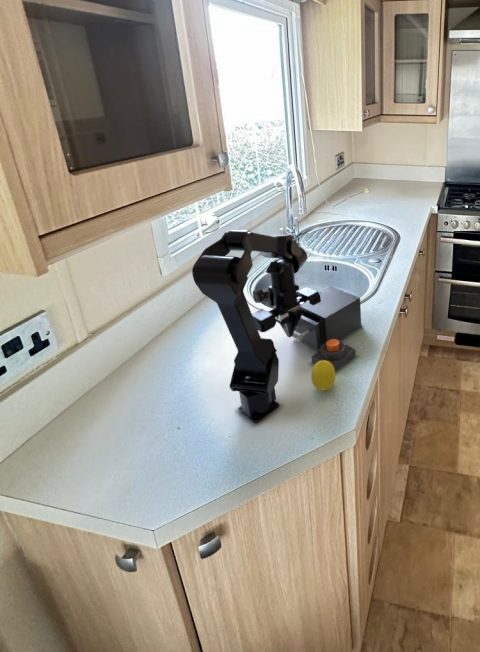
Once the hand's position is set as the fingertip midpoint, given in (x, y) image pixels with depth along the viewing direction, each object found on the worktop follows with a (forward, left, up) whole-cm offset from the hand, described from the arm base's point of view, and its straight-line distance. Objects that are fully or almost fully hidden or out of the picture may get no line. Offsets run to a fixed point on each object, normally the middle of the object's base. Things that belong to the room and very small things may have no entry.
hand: (289, 336), depth 105 cm
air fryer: (+14, 0, -6) cm, 15 cm away
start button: (+5, -11, -2) cm, 12 cm away
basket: (+9, 0, -5) cm, 10 cm away
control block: (+5, -11, -6) cm, 13 cm away
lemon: (-4, -17, -6) cm, 18 cm away
